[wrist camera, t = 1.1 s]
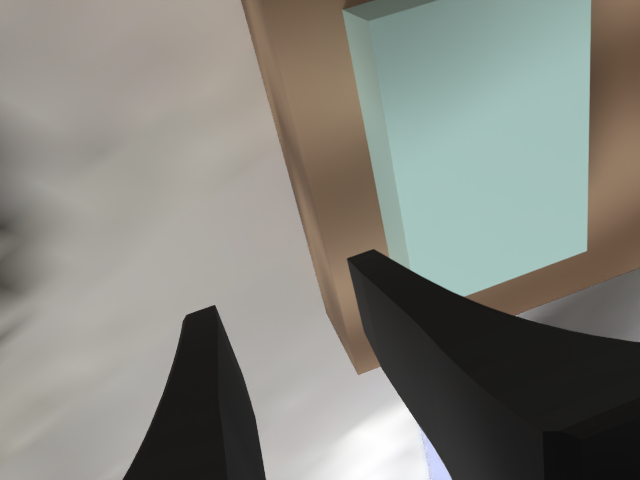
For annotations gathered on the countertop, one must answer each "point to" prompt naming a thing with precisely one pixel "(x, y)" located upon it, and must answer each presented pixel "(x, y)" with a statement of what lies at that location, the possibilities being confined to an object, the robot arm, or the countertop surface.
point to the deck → (357, 174)
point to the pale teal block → (476, 132)
